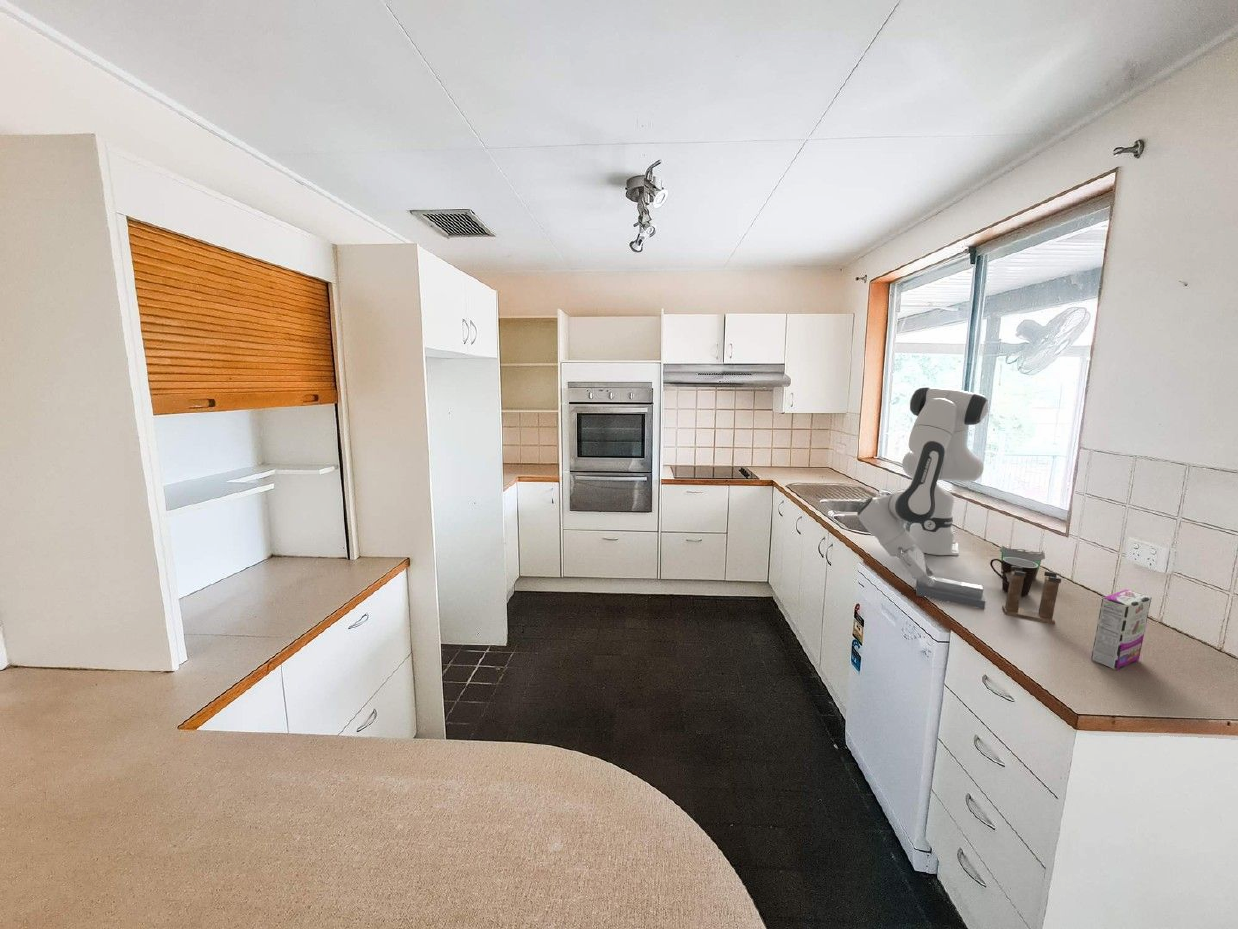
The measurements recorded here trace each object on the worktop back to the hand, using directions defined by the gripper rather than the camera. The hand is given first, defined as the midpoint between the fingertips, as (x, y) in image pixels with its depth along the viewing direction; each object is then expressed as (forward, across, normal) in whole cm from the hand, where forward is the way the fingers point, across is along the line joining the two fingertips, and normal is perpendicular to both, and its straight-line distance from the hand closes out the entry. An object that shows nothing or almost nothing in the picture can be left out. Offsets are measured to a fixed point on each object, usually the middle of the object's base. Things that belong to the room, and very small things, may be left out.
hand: (931, 579), depth 151 cm
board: (+7, 0, 0) cm, 7 cm away
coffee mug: (+20, +17, -13) cm, 29 cm away
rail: (+5, 0, -2) cm, 5 cm away
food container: (+23, +30, -16) cm, 41 cm away
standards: (+20, -2, -13) cm, 24 cm away
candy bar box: (+29, -20, -23) cm, 42 cm away
